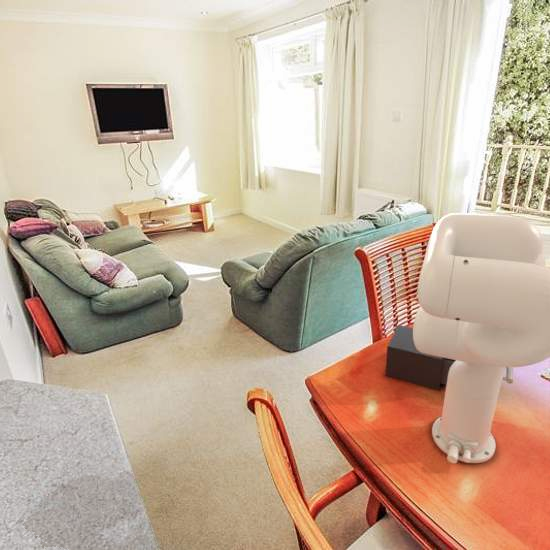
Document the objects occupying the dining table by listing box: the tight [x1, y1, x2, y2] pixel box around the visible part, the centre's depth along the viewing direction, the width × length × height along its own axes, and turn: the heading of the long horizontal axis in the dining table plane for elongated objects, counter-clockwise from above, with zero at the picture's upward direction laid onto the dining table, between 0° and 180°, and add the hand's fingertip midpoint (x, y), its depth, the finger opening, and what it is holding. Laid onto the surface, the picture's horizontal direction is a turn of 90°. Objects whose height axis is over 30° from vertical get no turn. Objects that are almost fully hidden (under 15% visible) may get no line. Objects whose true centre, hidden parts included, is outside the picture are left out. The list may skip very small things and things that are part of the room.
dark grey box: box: [385, 324, 444, 391], centre depth 103 cm, size 14×12×10 cm
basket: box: [440, 358, 514, 386], centre depth 97 cm, size 18×11×8 cm, turn 59°
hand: (469, 352), depth 95 cm, fingers closed on onion, 5 cm apart
